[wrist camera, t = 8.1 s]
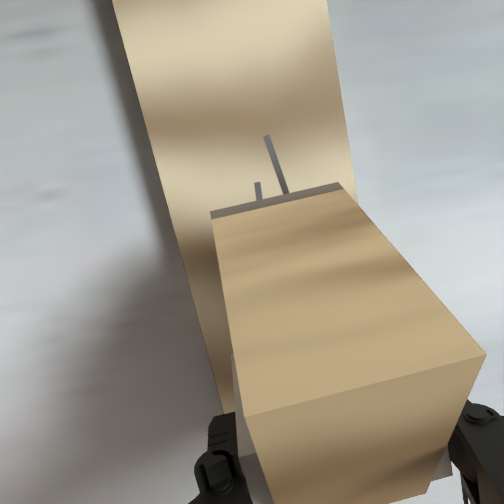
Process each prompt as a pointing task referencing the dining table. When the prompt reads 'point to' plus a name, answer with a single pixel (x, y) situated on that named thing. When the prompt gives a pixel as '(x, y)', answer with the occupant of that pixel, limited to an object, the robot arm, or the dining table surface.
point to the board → (233, 122)
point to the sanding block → (338, 350)
